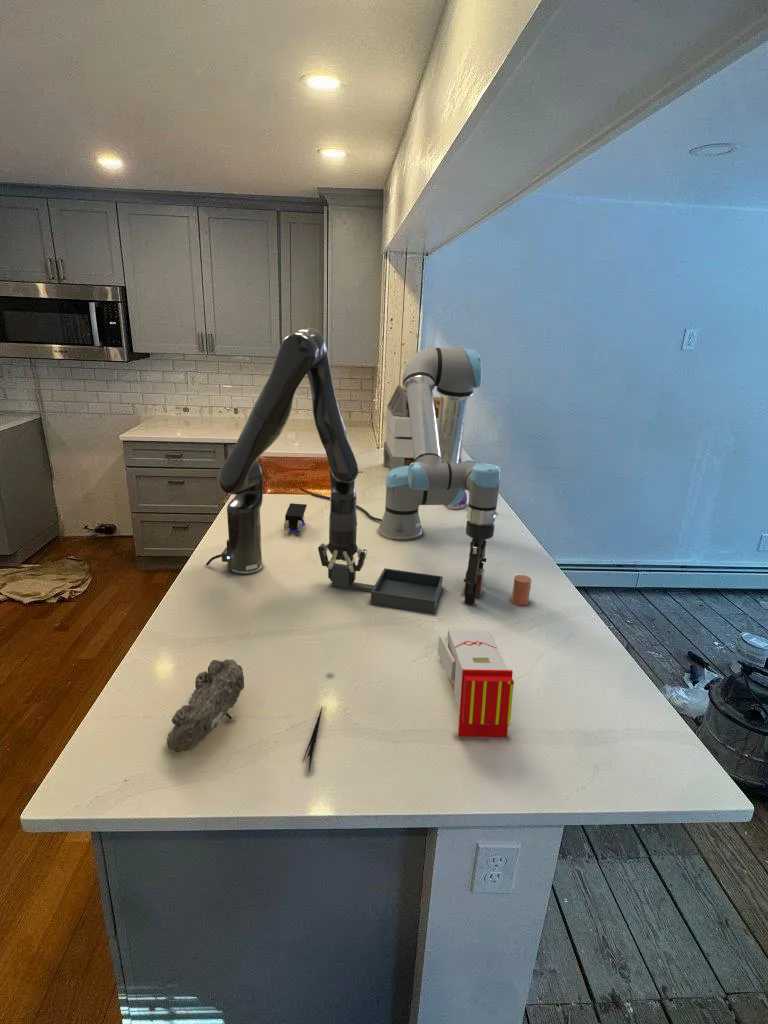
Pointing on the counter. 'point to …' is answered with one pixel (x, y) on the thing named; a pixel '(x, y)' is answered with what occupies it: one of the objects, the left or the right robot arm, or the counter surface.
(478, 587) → the walnut block
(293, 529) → the figurine character
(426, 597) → the tray
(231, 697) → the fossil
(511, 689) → the toy
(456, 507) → the figurine
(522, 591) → the terracotta cylinder
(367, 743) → the counter surface
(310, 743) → the feather
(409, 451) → the white crate
